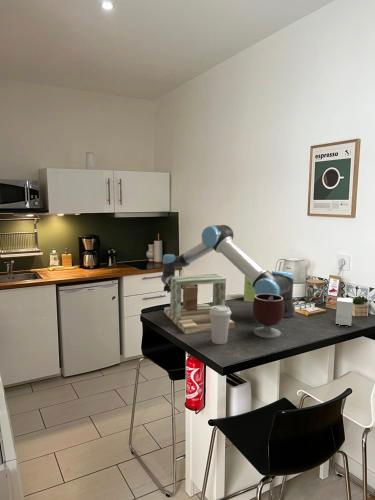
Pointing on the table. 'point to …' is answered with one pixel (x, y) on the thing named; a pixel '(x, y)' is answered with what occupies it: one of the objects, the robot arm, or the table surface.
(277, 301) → the mate gourd
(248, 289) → the protein box
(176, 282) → the tunnel
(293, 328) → the table surface
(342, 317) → the supplement box
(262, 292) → the robot arm
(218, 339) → the coffee cup
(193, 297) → the walnut block
